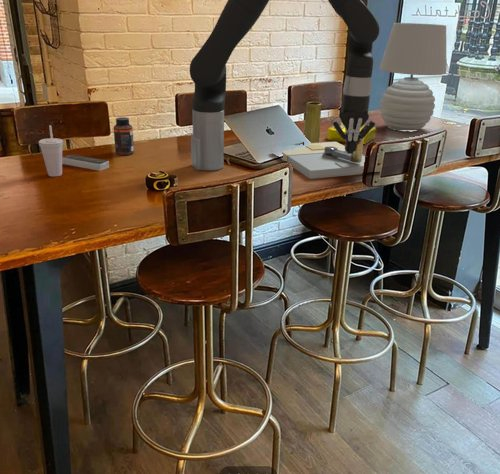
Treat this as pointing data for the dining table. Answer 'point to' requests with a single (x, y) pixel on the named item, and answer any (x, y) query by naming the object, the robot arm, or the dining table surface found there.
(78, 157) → the multiport hub
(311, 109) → the vase
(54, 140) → the smoothie
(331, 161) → the grey flat slab
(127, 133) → the supplement bottle
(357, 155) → the latch arm
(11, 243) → the dining table surface
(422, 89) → the table lamp
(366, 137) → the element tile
